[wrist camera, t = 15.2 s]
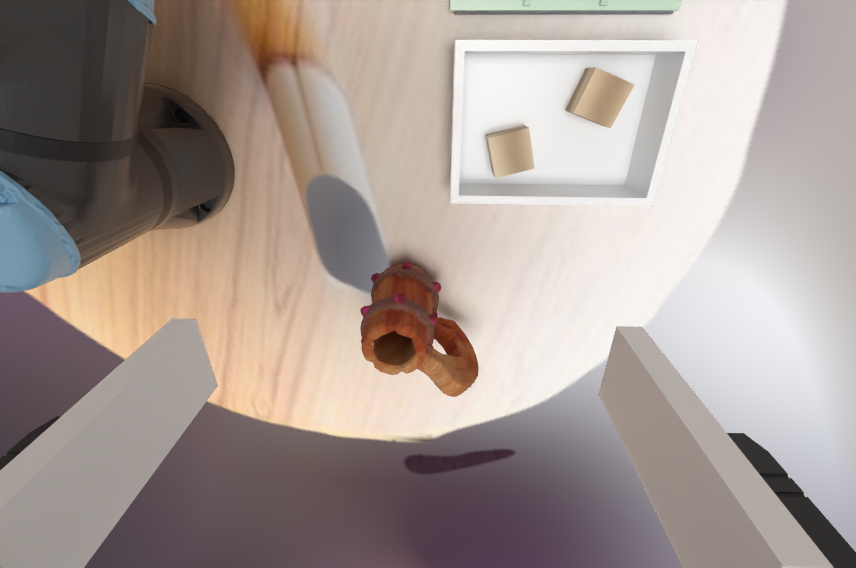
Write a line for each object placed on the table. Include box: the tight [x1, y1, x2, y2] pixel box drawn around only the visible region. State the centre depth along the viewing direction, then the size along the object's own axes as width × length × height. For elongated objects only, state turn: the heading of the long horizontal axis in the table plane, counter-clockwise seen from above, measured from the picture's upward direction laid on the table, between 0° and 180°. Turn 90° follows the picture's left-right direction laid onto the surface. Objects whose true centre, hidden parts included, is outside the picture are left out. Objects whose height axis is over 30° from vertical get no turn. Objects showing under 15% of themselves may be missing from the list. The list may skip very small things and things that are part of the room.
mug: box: [361, 262, 478, 397], centre depth 45 cm, size 15×8×15 cm, turn 54°
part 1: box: [485, 124, 535, 178], centre depth 40 cm, size 4×4×3 cm
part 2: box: [565, 67, 635, 128], centre depth 38 cm, size 4×4×3 cm
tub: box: [450, 40, 698, 206], centre depth 38 cm, size 20×14×6 cm
